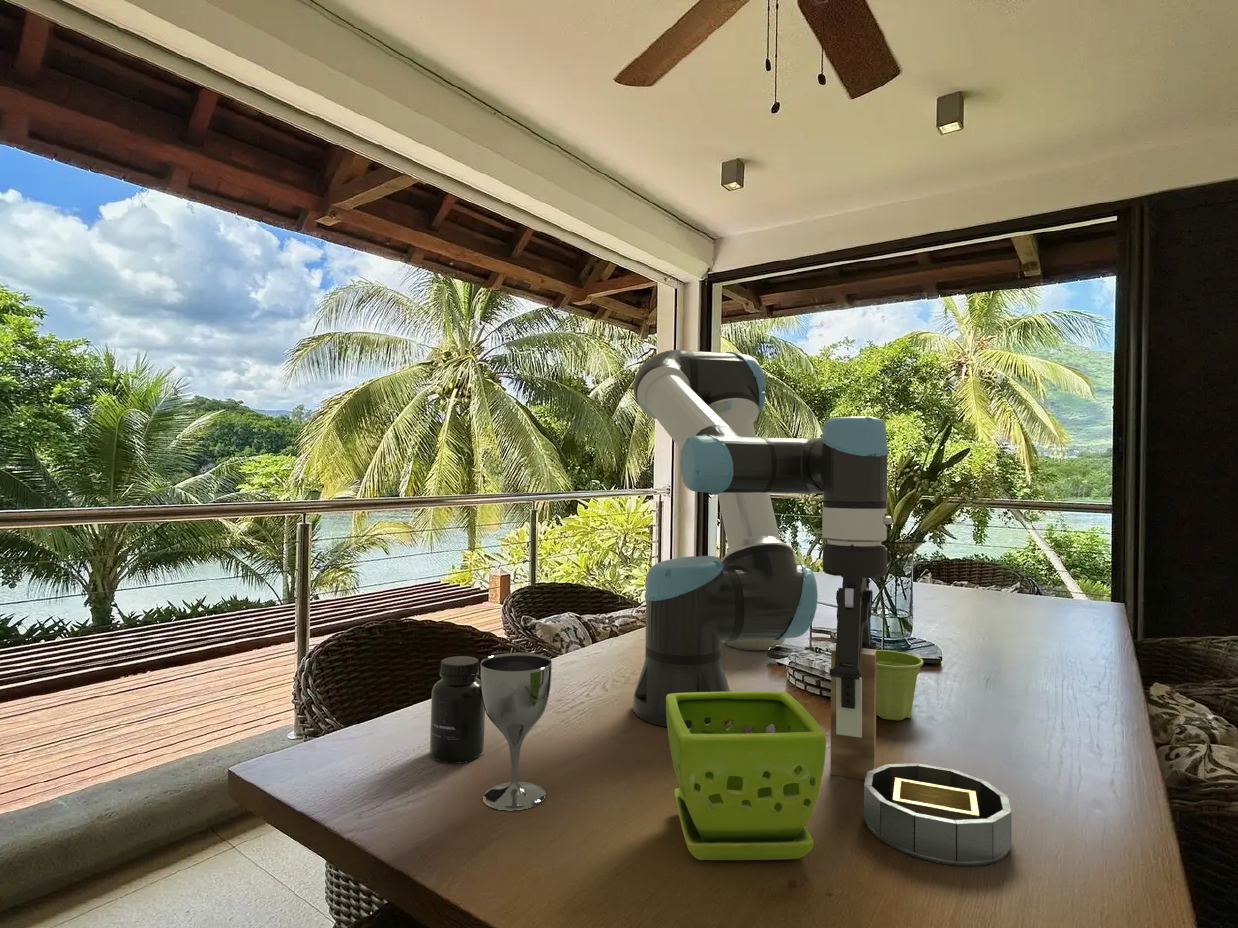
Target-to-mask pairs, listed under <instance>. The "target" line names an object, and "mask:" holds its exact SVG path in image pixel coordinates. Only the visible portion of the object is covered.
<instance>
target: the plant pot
mask: <svg viewBox="0 0 1238 928" xmlns="http://www.w3.org/2000/svg"><path fill="white" fill-rule="evenodd" d="M923 665H924V660H923V659H922V657H919V656H917V655H915V654H912V653H911V654H910V653H907V652H904V651H903V652H902V651H894V650H886V649H885V650H883V649H876V716H878V717H879V718H880V719H883V720H887V721H888V720H890V721H903V720H904V719H906V718H908V719H909V718H911V715H912V711H913V705H914V697H915V691H916V685H917V680H918V675H919V673H920V670H921V667H922V666H923Z"/></svg>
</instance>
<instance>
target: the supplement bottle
mask: <svg viewBox="0 0 1238 928" xmlns="http://www.w3.org/2000/svg"><path fill="white" fill-rule="evenodd" d="M479 665H480V664H479V659H478V658H476V657H474V656H465V655H461V656H460V655H457V656H451V657H446V658H443V659H441V661H440V671H439V677H441V679H439V680H438V681H436V683H434V685H433V687H432V689H431V701H430V703H431V706H430V709H431V710H430V735H429V736H430V737H429V738H430V739H429V753H430V755H431V757H432V758H433V759H434V760H435V761H437V760H438V762H440V761H441V763H444V762H447V763H446V764H460V763H459V762H463V763H466V762H465V761H467V762H471V761H474V760H475V758H476V759H477V758H479V757H480V756H481V755H482V754H483V752H484V749H485V730H486V729H485V728H486V727H485V725H486V723H485V722H486V720H485V719H486V711H485V708H484V704H483V700H482V693H481V685H480V678H478V676H480V669H479V667H480V666H479ZM473 759H474V760H473ZM470 760H471V761H470Z"/></svg>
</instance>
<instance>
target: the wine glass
mask: <svg viewBox="0 0 1238 928" xmlns="http://www.w3.org/2000/svg"><path fill="white" fill-rule="evenodd" d="M552 662H553V660H552V659H551V658H550V657H549V656H546V655H544V654H539V653H533V652H532V653H531V652H507V653H500V654H494V655H491V656H487V657H485V658H483V659H482V660H481V662H480V664H479V665H480V666H479V667H480V669H479V676H480V677H479V679H480V685H481V693H482V700H483V704H484V708H485V715H486V716H487V717H488V718H489V721H491V722H492V724H493V725H494V726H495V727H496V728H497V729H498V730H499V732H500V733H501V734H502V735H503V737H504V739H505V741H506V742H507V745H508V748H509V749H508V750H509V756H510V768H511V769H510V770H511V773H510V774H511V775H510V781H508V782H502V783H500V784H496V785H494V786H492V788H491V787H490V789H489V788H488V789H486V790H485V791H484V793H485V794H484V793H483V794H484V795H483V794H482V796H485V797H486V802H487V803H489V804H490V805H491V806H493V807H494V808H496V809H498V810H497V811H500V810H501V809H502V810H507V811H506V812H514V811H513V810H518V809H527V810H529V809H528V808H530V809H532V808H531V807H532V806H535V805H537V804H539V803H540V802H541V801H542V800H543V799H544V796H546V797H547V792H546V790H545V789H544V788H543V787H542V786H540V785H538V784H536V785H535V783H533V784H532V782H528V781H527V782H528V783H527V782H526V781H519V766H520V765H519V763H520V755H521V748H522V746H523V742H524V740H525V739H526V736H527V735H528V734H529V733H530V731H531V730H532V729H533V728H534V727H535V725H536V724H537V723H538V722H539V721H540V719H541V718H542V717H543V715H544V714H545V712H546V709H547V706H548V702H549V700H550V699H549V698H550V692H551V686H552V677H553V675H552V672H553V670H552V667H553V665H552ZM539 805H540V804H539ZM491 806H490V807H491ZM537 806H538V805H537ZM490 807H489V808H490ZM535 807H536V806H535Z"/></svg>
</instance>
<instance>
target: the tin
mask: <svg viewBox="0 0 1238 928" xmlns="http://www.w3.org/2000/svg"><path fill="white" fill-rule="evenodd" d="M863 787H864V788H863V820H864V821H865V825H866V826H867V829H869V831H870V832H871V833H872V835H874V836H875V837H876V838H877V839H878V840H880V841H881V842H882V841H883V843H884V844H886V845H887V846H889V847H891V848H892V849H894V848H895V849H894V850H896V851H898V850H899V851H898V852H901V853H903V854H905V855H907V856H908V855H909V856H910V855H911V856H910V857H913V856H914V858H916V859H920V860H923V859H924V860H923V861H926V860H928V861H927V862H930V861H933V862H932V863H934V862H938V863H937V864H940V863H942V864H941V865H945V864H947V865H946V866H953V865H954V867H981V866H982V867H983V866H988V865H992V864H995V863H998V862H1001V861H1002V860H1003V859H1005V858H1006V857H1007V856H1008V854H1009V852H1010V850H1011V849H1012V809H1011V808H1012V807H1011V805H1010V801H1009V796H1008V795H1007V794H1005V793H1004V792H1003V791H1001V790H999V789H998V788H997V787H995V786H994V785H992V784H990V783H989V782H988V781H987V780H985V779H981V778H978V777H976V776H972V775H970V774H968V773H965V772H962V771H958V770H955V769H952V768H947V767H942V766H935V765H930V764H925V763H924V764H923V763H917V762H916V763H890V764H889V763H886V764H884V765H881V766H878V767H876V769H873V770H871V771H868V772H867V773H866V778H865V780H864V784H863Z"/></svg>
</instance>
